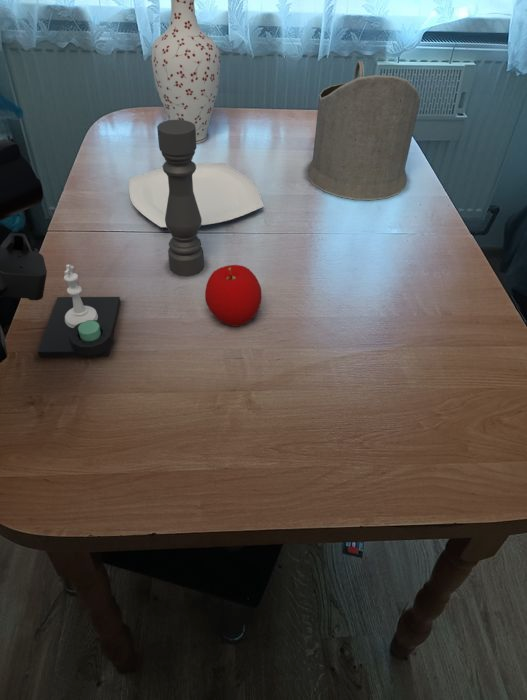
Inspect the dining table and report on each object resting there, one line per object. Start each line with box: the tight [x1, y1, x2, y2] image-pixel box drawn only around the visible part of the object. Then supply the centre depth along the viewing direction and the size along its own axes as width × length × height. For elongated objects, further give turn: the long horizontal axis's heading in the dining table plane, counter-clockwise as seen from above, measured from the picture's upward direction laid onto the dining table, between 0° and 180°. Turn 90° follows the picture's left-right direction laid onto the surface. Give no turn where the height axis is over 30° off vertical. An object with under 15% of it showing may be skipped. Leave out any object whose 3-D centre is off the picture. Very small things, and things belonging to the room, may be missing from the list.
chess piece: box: [63, 263, 98, 328], centre depth 81 cm, size 5×5×10 cm
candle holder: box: [156, 119, 205, 277], centre depth 89 cm, size 6×6×25 cm
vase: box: [150, 0, 221, 145], centre depth 127 cm, size 16×16×35 cm
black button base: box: [37, 296, 121, 359], centre depth 83 cm, size 14×10×3 cm
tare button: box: [78, 321, 101, 341], centre depth 79 cm, size 3×3×2 cm
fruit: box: [204, 264, 263, 327], centre depth 84 cm, size 9×9×10 cm
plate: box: [128, 162, 264, 229], centre depth 115 cm, size 27×27×2 cm
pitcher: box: [306, 60, 421, 201], centre depth 121 cm, size 23×32×25 cm
